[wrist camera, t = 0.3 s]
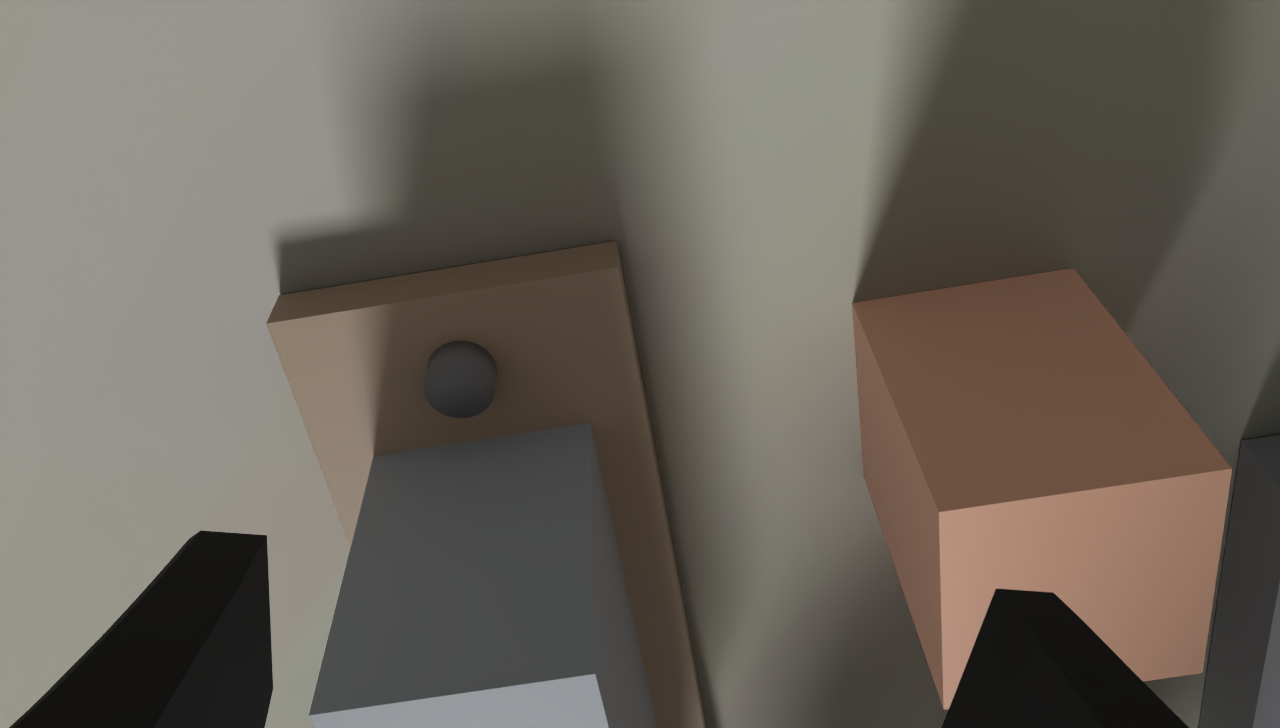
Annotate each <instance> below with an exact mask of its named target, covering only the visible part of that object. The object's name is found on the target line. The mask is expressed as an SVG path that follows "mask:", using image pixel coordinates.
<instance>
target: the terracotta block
mask: <svg viewBox="0 0 1280 728" xmlns="http://www.w3.org/2000/svg"><path fill="white" fill-rule="evenodd" d="M852 306H853V322H854V337H855V352H856V367H857V382H858V397H859V412H860V427H861V442H862V457H863V472H864V478H865V481H866V484H867V487H868V490H869V493H870V496H871V499H872V502H873V504H874V507H875V510H876V513H877V516H878V519H879V522H880V525H881V528H882V531H883V534H884V537H885V540H886V543H887V545H888V548H889V551H890V554H891V557H892V560H893V563H894V566H895V569H896V572H897V575H898V578H899V581H900V584H901V586H902V589H903V592H904V595H905V598H906V601H907V604H908V607H909V610H910V613H911V616H912V619H913V622H914V625H915V627H916V630H917V633H918V636H919V639H920V642H921V645H922V648H923V651H924V654H925V657H926V660H927V663H928V666H929V668H930V671H931V674H932V677H933V680H934V683H935V686H936V689H937V692H938V695H939V698H940V701H941V704H942V707H943V709H944V710H946V709H949V708H950V705H951V703H952V700H953V697H954V695H955V692H956V690H957V687H958V685H959V682H960V679H961V677H962V674H963V672H964V669H965V667H966V664H967V661H968V659H969V656H970V654H971V651H972V649H973V646H974V644H975V641H976V638H977V636H978V633H979V631H980V628H981V626H982V623H983V620H984V618H985V615H986V613H987V610H988V608H989V605H990V602H991V600H992V597H993V595H994V592H995V590H996V588H997V589H1010V590H1024V591H1038V592H1052V593H1054V594H1055V595H1057V596H1058V597H1059V598H1060V599H1061V600H1062V601H1063V602H1064V603H1065V604H1066V605H1067V606H1068V607H1069V608H1070V609H1071V610H1072V611H1073V612H1074V613H1075V614H1077V615H1078V616H1079V617H1080V618H1081V619H1082V620H1083V621H1084V622H1085V623H1086V624H1087V625H1088V626H1089V627H1090V628H1091V629H1092V630H1093V631H1094V632H1095V633H1096V634H1097V635H1098V636H1099V637H1100V638H1101V639H1102V640H1103V642H1104V643H1105V644H1106V645H1107V646H1108V647H1109V648H1110V649H1111V650H1112V651H1113V652H1114V653H1115V654H1116V655H1117V656H1118V657H1119V658H1120V659H1121V660H1122V661H1123V662H1124V663H1125V664H1126V665H1127V666H1128V667H1129V668H1130V669H1131V670H1132V671H1133V672H1134V673H1135V674H1136V675H1137V676H1138V677H1139V678H1140V679H1141V680H1142V681H1143V682H1144V681H1151V680H1158V679H1165V678H1172V677H1179V676H1186V675H1194V674H1201V673H1203V667H1204V660H1205V653H1206V646H1207V639H1208V633H1209V626H1210V619H1211V612H1212V605H1213V598H1214V591H1215V584H1216V577H1217V570H1218V563H1219V557H1220V550H1221V543H1222V536H1223V529H1224V522H1225V515H1226V508H1227V501H1228V494H1229V487H1230V481H1231V474H1232V468H1231V466H1230V465H1229V464H1228V463H1227V461H1226V460H1225V459H1224V458H1223V456H1222V455H1221V454H1220V453H1219V451H1218V450H1217V449H1216V447H1215V446H1214V445H1213V444H1212V442H1211V441H1210V440H1209V439H1208V437H1207V436H1206V435H1205V434H1204V432H1203V431H1202V430H1201V428H1200V427H1199V426H1198V425H1197V423H1196V422H1195V421H1194V420H1193V418H1192V417H1191V416H1190V415H1189V413H1188V412H1187V411H1186V410H1185V408H1184V407H1183V406H1182V404H1181V403H1180V402H1179V401H1178V399H1177V398H1176V397H1175V396H1174V394H1173V393H1172V392H1171V391H1170V389H1169V388H1168V387H1167V385H1166V384H1165V383H1164V382H1163V380H1162V379H1161V378H1160V377H1159V375H1158V374H1157V373H1156V372H1155V370H1154V369H1153V368H1152V366H1151V365H1150V364H1149V363H1148V361H1147V360H1146V359H1145V358H1144V356H1143V355H1142V354H1141V353H1140V351H1139V350H1138V349H1137V347H1136V346H1135V345H1134V344H1133V342H1132V341H1131V340H1130V339H1129V337H1128V336H1127V335H1126V334H1125V332H1124V331H1123V330H1122V329H1121V327H1120V326H1119V325H1118V323H1117V322H1116V321H1115V320H1114V318H1113V317H1112V316H1111V315H1110V313H1109V312H1108V311H1107V310H1106V308H1105V307H1104V306H1103V304H1102V303H1101V302H1100V301H1099V299H1098V298H1097V297H1096V296H1095V294H1094V293H1093V292H1092V291H1091V289H1090V288H1089V287H1088V285H1087V284H1086V283H1085V282H1084V280H1083V279H1082V278H1081V277H1080V275H1079V274H1078V273H1077V272H1076V270H1075V269H1074V268H1070V269H1064V270H1057V271H1051V272H1045V273H1038V274H1032V275H1026V276H1019V277H1013V278H1007V279H1000V280H994V281H988V282H981V283H975V284H969V285H962V286H956V287H950V288H943V289H937V290H931V291H924V292H918V293H912V294H905V295H899V296H893V297H886V298H880V299H874V300H867V301H861V302H855V303H852Z"/></svg>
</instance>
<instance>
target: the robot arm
mask: <svg viewBox="0 0 1280 728" xmlns="http://www.w3.org/2000/svg"><path fill="white" fill-rule="evenodd" d="M272 691H273V679H272V654H271V629H270V605H269V580H268V556H267V536H266V535H252V534H239V533H225V532H211V531H200V532H198V533H197V534H195V535H194V536H193V537H191V538H190V539H189V540H188V541H187V542H186V543H185V544H184V546H183V547H182V548H181V549H180V550H179V551H178V553H177V554H176V555H175V556H174V557H173V558H172V559H171V561H170V562H169V563H168V564H167V565H166V566H165V567H164V569H163V570H162V571H161V572H160V573H159V574H158V575H157V577H156V578H155V579H154V580H153V581H152V582H151V583H150V584H149V586H148V587H147V588H146V589H145V590H144V591H143V592H142V593H141V594H140V596H139V597H138V598H137V599H136V600H135V601H134V602H133V603H132V604H131V605H130V607H129V608H128V609H127V610H126V611H125V612H124V613H123V614H122V615H121V616H120V617H119V618H118V619H117V621H116V622H115V623H114V624H113V625H112V626H111V627H110V628H109V629H108V630H107V631H106V632H105V633H104V635H103V636H102V637H101V638H100V639H99V640H98V641H97V642H96V643H95V644H94V645H93V646H92V647H91V648H90V649H89V650H88V651H87V652H86V653H85V654H84V655H83V656H82V657H81V658H80V659H79V660H78V661H77V662H76V663H75V664H74V665H73V666H72V667H71V668H70V669H69V670H68V671H67V672H66V673H65V674H64V675H63V676H62V677H61V678H60V679H59V680H58V681H57V682H56V683H55V684H54V685H53V686H52V687H51V689H50V690H49V691H48V692H47V693H45V694H44V695H43V696H42V697H41V698H40V699H39V700H38V701H37V702H36V703H35V704H34V705H33V706H32V707H31V708H30V709H29V710H28V711H27V712H26V713H25V714H24V715H22V716H21V717H20V718H19V719H18V720H17V721H16V722H15V723H14V724H13V725H12V726H11V727H9V728H264V727H265V722H266V718H267V713H268V709H269V704H270V700H271V695H272ZM942 728H1189V727H1188V726H1187V725H1186V724H1185V723H1184V722H1183V721H1182V720H1181V719H1180V718H1179V717H1178V716H1177V715H1176V714H1175V713H1174V712H1173V711H1172V710H1171V709H1170V708H1169V707H1168V706H1167V705H1166V704H1165V703H1164V702H1163V701H1162V700H1161V699H1160V698H1159V697H1158V696H1157V695H1156V694H1155V693H1154V692H1153V691H1152V690H1151V689H1150V688H1149V687H1148V686H1147V685H1146V684H1145V683H1144V682H1143V681H1142V680H1141V679H1140V678H1139V677H1138V676H1137V675H1136V674H1135V673H1134V672H1133V671H1132V670H1131V669H1130V668H1129V667H1128V666H1127V665H1126V664H1125V663H1124V662H1123V661H1122V660H1121V659H1120V658H1119V657H1118V656H1117V655H1116V654H1115V653H1114V652H1113V651H1112V650H1111V649H1110V648H1109V647H1108V646H1107V645H1106V644H1105V643H1104V642H1103V640H1102V639H1101V638H1100V637H1099V636H1098V635H1097V634H1096V633H1095V632H1094V631H1093V630H1092V629H1091V628H1090V627H1089V626H1088V625H1087V624H1086V623H1085V622H1084V621H1083V620H1082V619H1081V618H1080V617H1079V616H1078V615H1077V614H1075V613H1074V612H1073V611H1072V610H1071V609H1070V608H1069V607H1068V606H1067V605H1066V604H1065V603H1064V602H1063V601H1062V600H1061V599H1060V598H1059V597H1058V596H1057V595H1055V594H1054V593H1052V592H1038V591H1024V590H1010V589H997V588H996V590H995V592H994V595H993V597H992V600H991V602H990V605H989V608H988V610H987V613H986V615H985V618H984V620H983V623H982V626H981V628H980V631H979V633H978V636H977V638H976V641H975V644H974V646H973V649H972V651H971V654H970V656H969V659H968V661H967V664H966V667H965V669H964V672H963V674H962V677H961V679H960V682H959V685H958V687H957V690H956V692H955V695H954V697H953V700H952V703H951V705H950V708H949V710H948V713H947V715H946V718H945V720H944V723H943V726H942Z"/></svg>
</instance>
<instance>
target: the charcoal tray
mask: <svg viewBox="0 0 1280 728" xmlns="http://www.w3.org/2000/svg"><path fill="white" fill-rule="evenodd" d="M1199 728H1280V435H1274V436H1267V437H1261V438H1254V439H1248V440H1242V441H1241V447H1240V454H1239V461H1238V467H1237V474H1236V481H1235V488H1234V494H1233V501H1232V508H1231V514H1230V521H1229V528H1228V535H1227V541H1226V548H1225V555H1224V561H1223V568H1222V575H1221V582H1220V588H1219V595H1218V602H1217V608H1216V615H1215V622H1214V629H1213V635H1212V642H1211V649H1210V655H1209V662H1208V669H1207V675H1206V682H1205V689H1204V696H1203V702H1202V709H1201V716H1200V722H1199Z"/></svg>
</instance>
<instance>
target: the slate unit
mask: <svg viewBox="0 0 1280 728" xmlns="http://www.w3.org/2000/svg"><path fill="white" fill-rule="evenodd" d="M266 324H267V327H268V329H269V332H270V335H271V337H272V340H273V343H274V345H275V348H276V351H277V353H278V356H279V358H280V361H281V364H282V366H283V369H284V372H285V374H286V377H287V380H288V382H289V385H290V388H291V390H292V393H293V395H294V398H295V401H296V403H297V406H298V409H299V411H300V414H301V417H302V419H303V422H304V425H305V427H306V430H307V432H308V435H309V438H310V440H311V443H312V446H313V448H314V451H315V454H316V456H317V459H318V462H319V464H320V467H321V469H322V472H323V475H324V477H325V480H326V483H327V485H328V488H329V491H330V493H331V496H332V499H333V501H334V504H335V506H336V509H337V512H338V514H339V517H340V520H341V522H342V525H343V528H344V530H345V533H346V536H347V538H348V541H349V543H350V546H351V549H350V553H349V557H348V561H347V565H346V569H345V573H344V577H343V581H342V585H341V589H340V593H339V597H338V601H337V605H336V609H335V613H334V617H333V621H332V625H331V629H330V633H329V637H328V641H327V645H326V649H325V653H324V657H323V661H322V665H321V669H320V673H319V677H318V681H317V685H316V689H315V693H314V697H313V701H312V705H311V709H310V713H309V717H310V719H311V721H312V723H313V726H314V728H706V724H705V718H704V713H703V707H702V702H701V697H700V691H699V686H698V680H697V675H696V669H695V664H694V659H693V653H692V648H691V642H690V637H689V631H688V626H687V621H686V615H685V610H684V604H683V599H682V593H681V588H680V583H679V577H678V572H677V566H676V561H675V555H674V550H673V545H672V539H671V534H670V528H669V523H668V517H667V512H666V507H665V501H664V496H663V490H662V485H661V479H660V474H659V469H658V463H657V458H656V452H655V447H654V441H653V436H652V431H651V425H650V420H649V414H648V409H647V403H646V398H645V393H644V387H643V382H642V376H641V371H640V365H639V360H638V355H637V349H636V344H635V338H634V333H633V327H632V322H631V317H630V311H629V306H628V300H627V295H626V289H625V284H624V279H623V273H622V268H621V262H620V257H619V251H618V246H617V241H612V242H606V243H600V244H594V245H588V246H581V247H575V248H569V249H563V250H557V251H550V252H544V253H538V254H532V255H526V256H519V257H513V258H507V259H501V260H495V261H488V262H482V263H476V264H470V265H464V266H457V267H451V268H445V269H439V270H433V271H427V272H420V273H414V274H408V275H402V276H396V277H389V278H383V279H377V280H371V281H365V282H358V283H352V284H346V285H340V286H334V287H327V288H321V289H315V290H309V291H303V292H296V293H290V294H284V295H279V297H278V299H277V301H276V303H275V306H274V308H273V310H272V312H271V315H270V317H269V319H268V321H267V323H266Z"/></svg>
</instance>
